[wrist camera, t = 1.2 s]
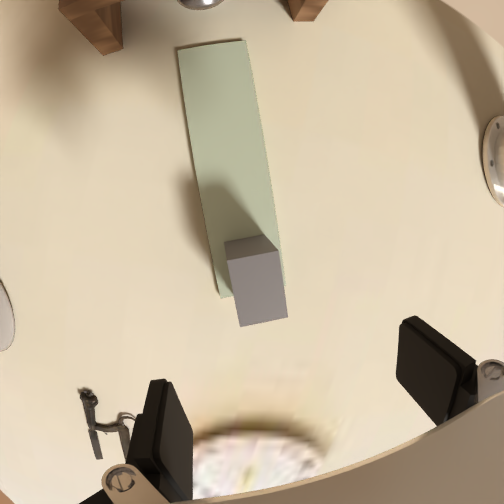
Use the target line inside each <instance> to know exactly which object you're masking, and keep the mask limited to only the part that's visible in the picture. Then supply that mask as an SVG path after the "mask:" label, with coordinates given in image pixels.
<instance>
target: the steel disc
mask: <svg viewBox="0 0 504 504" xmlns="http://www.w3.org/2000/svg"><path fill="white" fill-rule="evenodd" d="M177 1H178V2H179V3H180V4H181V5H182V6H184V7H186V8H189V9H193V10H205V9H209V8H212V7H215V6H217V5H219V4H220V3H221V2H223V0H177Z"/></svg>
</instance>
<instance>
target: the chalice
mask: <svg viewBox="0 0 504 504" xmlns="http://www.w3.org/2000/svg"><path fill="white" fill-rule="evenodd" d="M14 335H15V320H14V315H13V310H12V307H11V304H10V301H9V298H8V296H7V294H6V292H5V289H4V287H3V286H2V284H1V283H0V352H1V351H4V350H7V349H8V348H9V347H10V346H11V344H12V342H13V340H14Z"/></svg>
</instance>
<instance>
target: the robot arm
mask: <svg viewBox="0 0 504 504" xmlns="http://www.w3.org/2000/svg"><path fill="white" fill-rule="evenodd" d="M483 166H484V172H485V177H486V180H487V184H488V186H489V189H490V192H491V194H492V195H493V197H494V199H495V200H496V201H497V203H498V204H500V205H501V206H502V207H504V116H497V117H495V118H493V119H492V120H491V121H490V123H489V124H488V126H487V128H486V131H485V135H484V141H483ZM475 363H476V360H475V359H473V358H472V357H471V356H469V355H468V354H467V353H466V352H464V351H463V350H462V349H460V348H459V347H458V346H456V345H455V344H454V343H452V342H451V341H450V340H449V339H447V338H446V337H445V336H443V335H442V334H441V333H439V332H438V331H437V330H435V329H434V328H432V327H431V326H430V325H428V324H427V323H426V322H424V321H423V320H422V319H420V318H419V317H418V316H412V317H409V318H406V319H404V320H403V321H402V324H401V325H400V327H399V342H398V356H397V367H396V378H397V380H398V382H399V383H400V384H401V385H402V386H403V387H404V388H405V390H406V391H407V392H408V393H409V394H410V395H411V396H412V398H413V399H414V400H415V401H416V402H417V403H418V405H419V406H420V407H421V408H422V409H423V410H424V412H425V413H426V414H427V415H428V416H429V417H430V419H431V420H432V421H433V422H434V423H435V424H436V426H437V427H435V428H433V429H431V430H430V431H428V432H426V433H424V434H422V435H420V436H418V437H416V438H414V439H412V440H410V441H408V442H405V443H403V444H401V445H399V446H397V447H395V448H392V449H390V450H388V451H385V452H383V453H381V454H378V455H376V456H373V457H371V458H368V459H366V460H363V461H360V462H358V463H355V464H352V465H350V466H347V467H344V468H341V469H338V470H335V471H332V472H329V473H325V474H322V475H319V476H315V477H312V478H308V479H305V480H301V481H297V482H293V483H289V484H285V485H281V486H276V487H272V488H267V489H262V490H257V491H251V492H245V493H240V494H234V495H227V496H220V497H212V498H203V499H196V500H192V499H193V431H192V428H191V425H190V423H189V421H188V419H187V417H186V414H185V412H184V410H183V408H182V405H181V403H180V401H179V399H178V396H177V394H176V391H175V389H174V387H173V384H172V382H167V380H166V379H158V380H151V381H150V384H149V388H148V392H147V397H146V401H145V405H144V409H143V414H138V415H137V417H136V420H135V424H134V428H133V432H132V436H131V440H130V445H129V449H128V454H127V458H126V463H125V464H118V465H115V466H112V467H110V468H109V469H108V470H107V471H106V472H105V473H104V474H103V477H102V487H103V489H102V490H100V491H99V492H97V493H95V494H94V495H92V496H91V497H89V498H87V499H86V500H84V501H83V502H81V503H79V504H504V363H503V362H502V361H499V360H494V359H490V360H486V361H483V362H482V363H480V364H479V366H477V365H476V364H475Z"/></svg>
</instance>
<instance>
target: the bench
mask: <svg viewBox="0 0 504 504" xmlns="http://www.w3.org/2000/svg"><path fill="white" fill-rule="evenodd" d="M120 1H124V0H59V9H58V10H59V11H60V12H61V13H62V14H63V15H64V16H65V17H66V18H67V19H68V20H69V21H70V22H71V23H72V24H73V25H74V26H75V27H76V28H77V29H78V30H79V31H80V32H81V33H82V34H83V35H84V36H85V37H86V38H87V39H88V40H89V41H90V42H91V43H92V44H93V45H94V46H95V47H96V49H97V50H98V51H99V52H100V53H101V54H102V55H103V56H104V55H107V54H109V53H112V52H115V51H118V50H122V49H123V41H122V25H121V2H120ZM287 1H288V4H289V7H290V11H291V14H292V18H293V21H314V20H315V18H316V17H317V15H318V14H319V13H320V11H321V10H322V8H323V7H324V6H325V4H326V3H327V2H328V0H287Z"/></svg>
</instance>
